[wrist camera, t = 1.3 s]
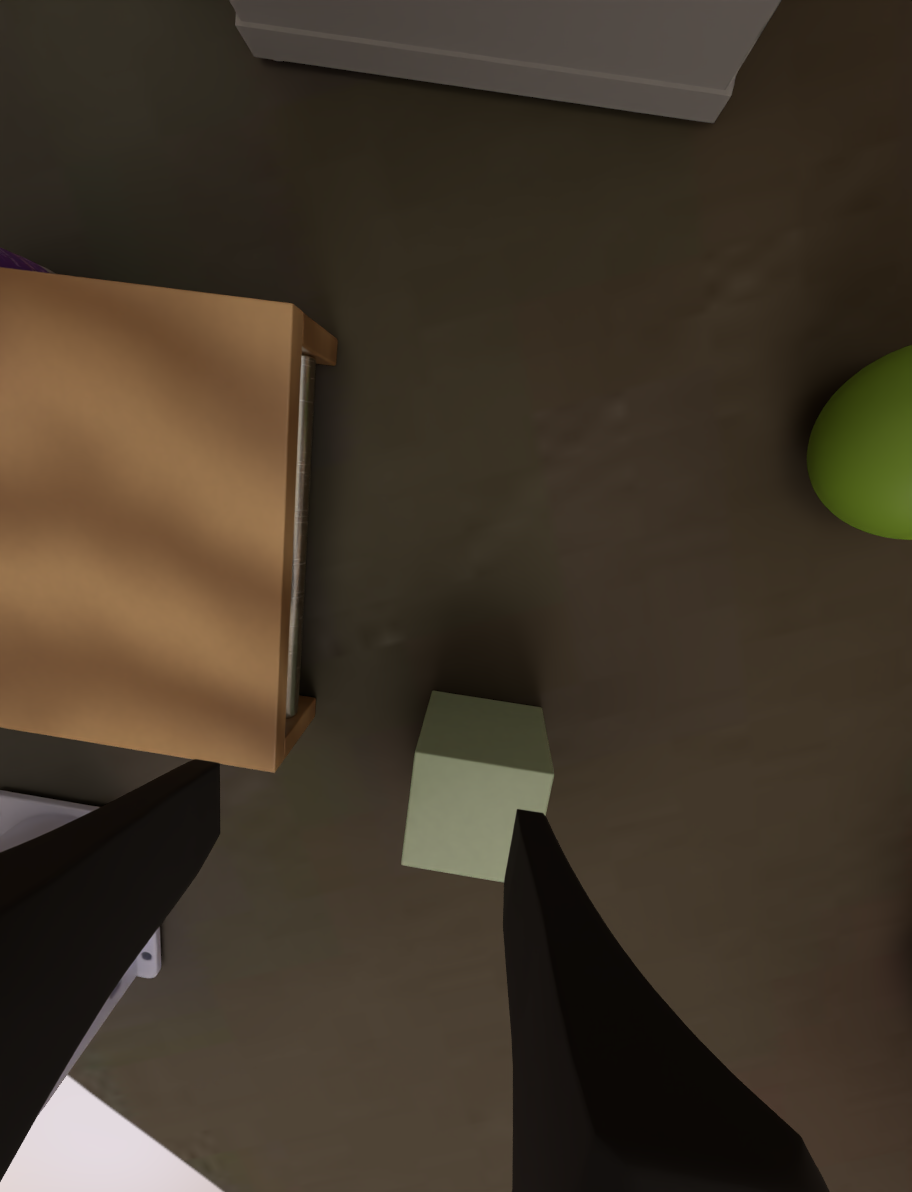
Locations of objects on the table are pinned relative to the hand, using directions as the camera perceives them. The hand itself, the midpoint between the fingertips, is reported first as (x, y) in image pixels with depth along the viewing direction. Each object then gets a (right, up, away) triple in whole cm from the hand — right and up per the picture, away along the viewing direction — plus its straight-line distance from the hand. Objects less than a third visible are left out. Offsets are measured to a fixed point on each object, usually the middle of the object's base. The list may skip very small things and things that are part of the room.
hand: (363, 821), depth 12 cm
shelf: (-8, +8, +8) cm, 13 cm away
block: (+3, -1, +9) cm, 10 cm away
